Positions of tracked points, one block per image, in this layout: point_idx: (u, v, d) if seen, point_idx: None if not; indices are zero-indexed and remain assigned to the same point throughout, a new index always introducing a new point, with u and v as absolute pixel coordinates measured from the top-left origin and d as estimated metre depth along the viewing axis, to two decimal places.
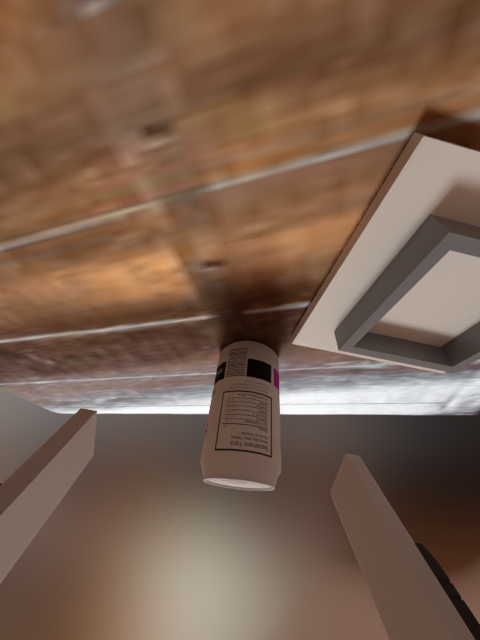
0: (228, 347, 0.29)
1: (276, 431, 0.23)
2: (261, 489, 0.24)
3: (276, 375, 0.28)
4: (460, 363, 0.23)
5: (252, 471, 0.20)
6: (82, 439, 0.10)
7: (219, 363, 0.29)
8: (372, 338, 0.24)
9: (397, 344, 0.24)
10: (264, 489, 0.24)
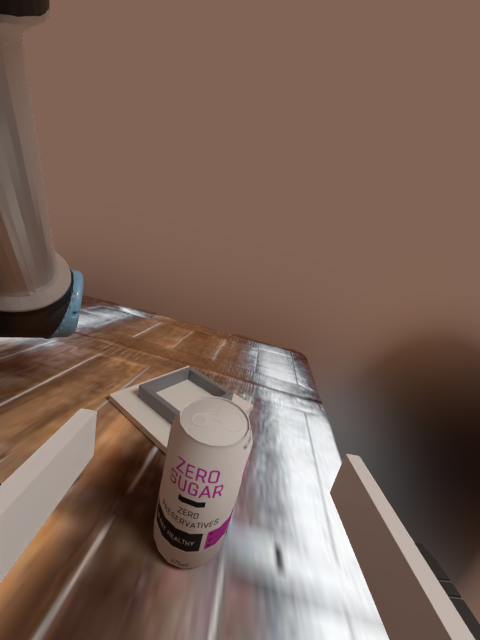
0: (154, 526, 0.24)
1: None
2: (246, 415, 0.24)
3: None
4: (224, 390, 0.47)
5: None
6: (82, 439, 0.10)
7: (159, 532, 0.23)
8: None
9: None
10: (244, 413, 0.24)
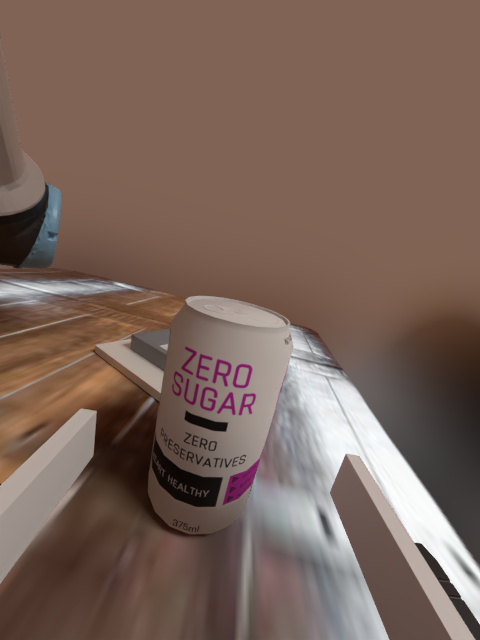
0: (148, 479, 0.17)
1: None
2: (279, 316, 0.17)
3: None
4: None
5: None
6: (82, 439, 0.10)
7: (155, 483, 0.15)
8: None
9: None
10: (276, 314, 0.17)
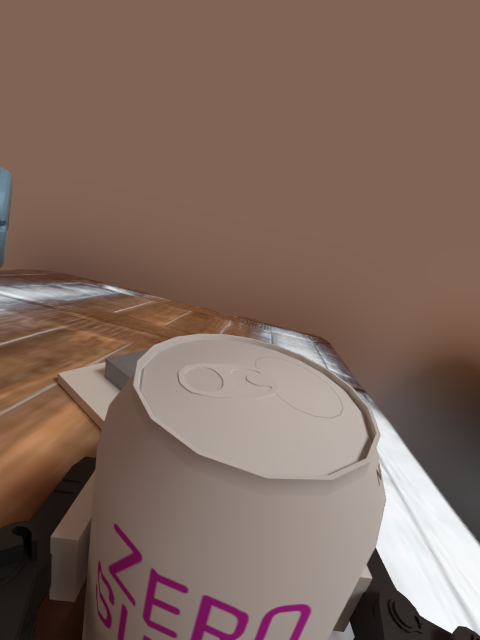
0: None
1: None
2: (333, 377, 0.09)
3: None
4: None
5: None
6: None
7: None
8: None
9: None
10: (325, 371, 0.09)
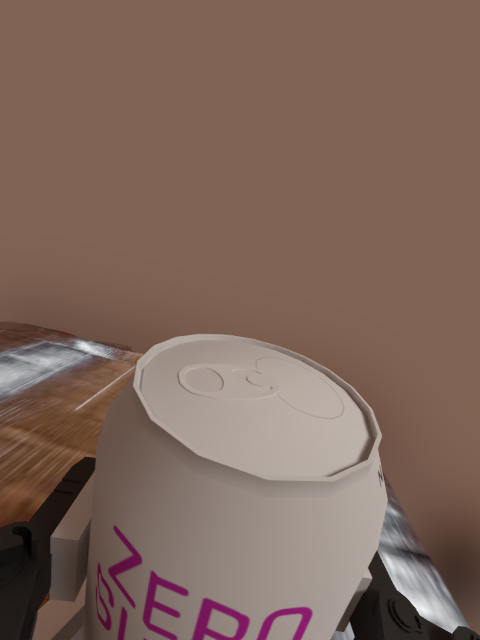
0: None
1: None
2: (333, 377, 0.09)
3: None
4: None
5: None
6: None
7: None
8: None
9: None
10: (326, 372, 0.09)
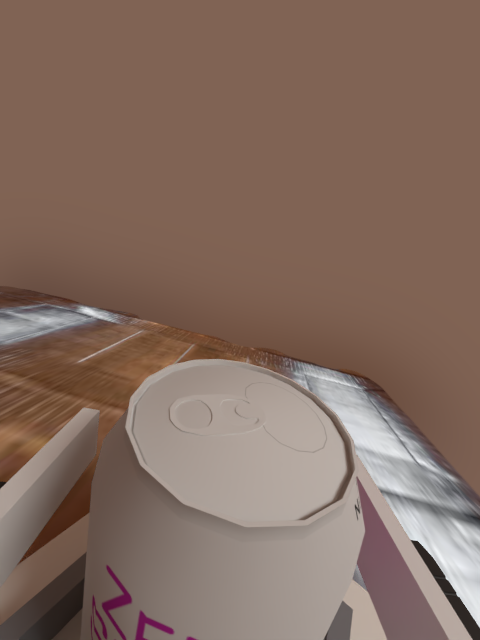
0: None
1: None
2: (320, 403, 0.09)
3: None
4: None
5: None
6: (85, 438, 0.10)
7: None
8: None
9: None
10: (313, 397, 0.09)
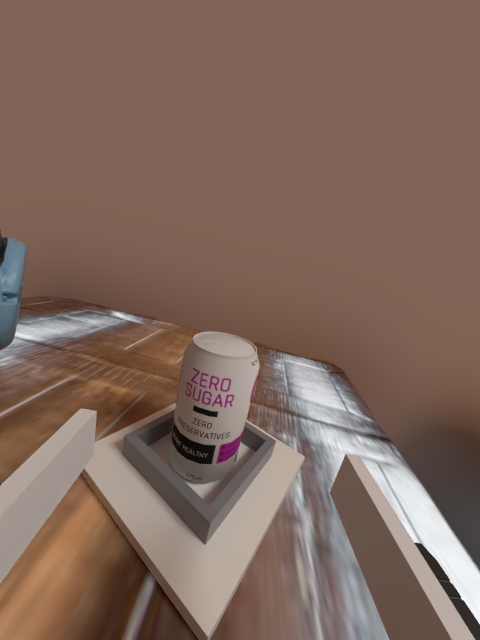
0: (169, 451, 0.26)
1: None
2: (252, 345, 0.26)
3: None
4: (261, 436, 0.30)
5: None
6: (82, 439, 0.10)
7: (174, 451, 0.25)
8: None
9: None
10: (251, 343, 0.26)
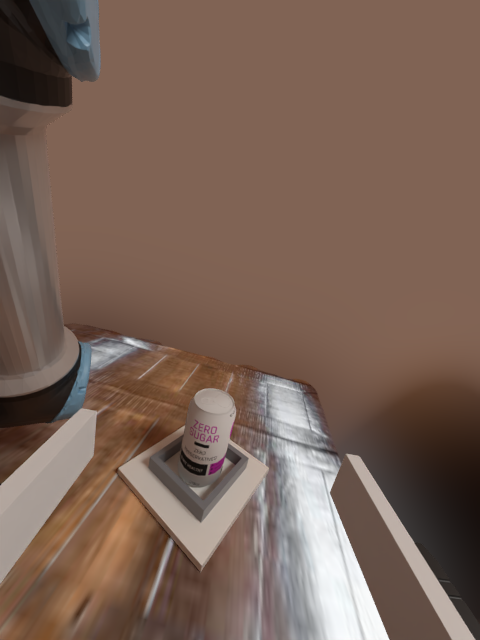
0: (178, 466, 0.41)
1: None
2: (232, 399, 0.41)
3: None
4: (239, 455, 0.45)
5: None
6: (82, 439, 0.10)
7: (182, 467, 0.39)
8: None
9: None
10: (231, 398, 0.41)
